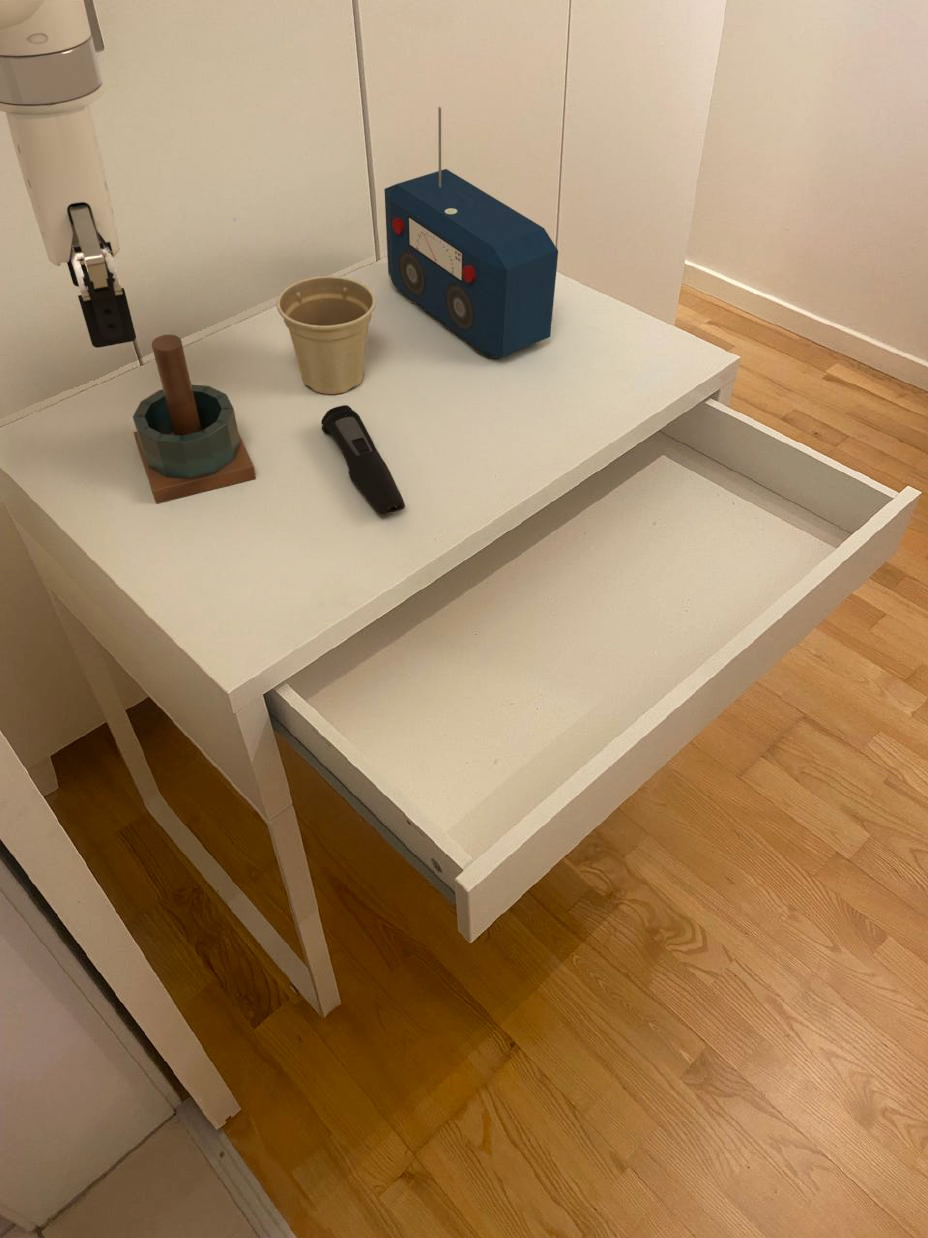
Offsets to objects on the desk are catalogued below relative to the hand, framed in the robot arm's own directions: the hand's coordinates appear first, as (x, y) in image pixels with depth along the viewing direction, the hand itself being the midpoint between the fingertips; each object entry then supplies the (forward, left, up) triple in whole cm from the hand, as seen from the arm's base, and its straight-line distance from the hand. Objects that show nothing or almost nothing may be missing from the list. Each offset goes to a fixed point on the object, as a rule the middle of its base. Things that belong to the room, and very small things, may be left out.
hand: (104, 311), depth 75 cm
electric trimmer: (+18, -7, -17) cm, 26 cm away
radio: (+37, +14, -17) cm, 43 cm away
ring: (+4, 0, -15) cm, 15 cm away
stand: (+4, 0, -16) cm, 17 cm away
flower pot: (+20, +8, -17) cm, 27 cm away
